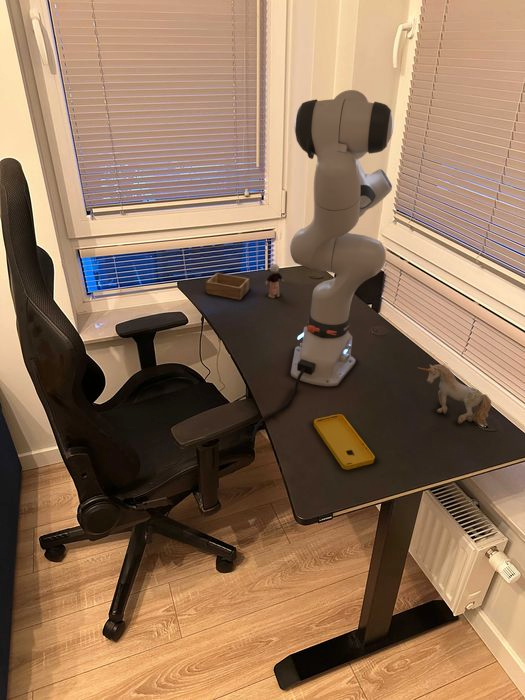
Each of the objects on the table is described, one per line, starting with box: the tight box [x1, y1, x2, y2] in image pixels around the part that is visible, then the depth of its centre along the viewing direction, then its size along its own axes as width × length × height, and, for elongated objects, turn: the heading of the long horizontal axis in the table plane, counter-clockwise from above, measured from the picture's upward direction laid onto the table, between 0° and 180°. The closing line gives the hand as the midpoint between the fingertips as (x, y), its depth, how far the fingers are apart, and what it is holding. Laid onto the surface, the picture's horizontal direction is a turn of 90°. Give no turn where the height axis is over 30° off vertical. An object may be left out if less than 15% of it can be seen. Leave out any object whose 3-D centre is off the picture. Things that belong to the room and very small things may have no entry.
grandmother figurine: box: [264, 263, 284, 299], centre depth 184 cm, size 8×4×13 cm, turn 133°
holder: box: [205, 272, 251, 300], centre depth 189 cm, size 10×14×5 cm
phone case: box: [313, 413, 376, 471], centre depth 120 cm, size 8×17×1 cm, turn 20°
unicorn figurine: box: [417, 363, 492, 427], centre depth 128 cm, size 7×20×13 cm, turn 63°
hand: (315, 234), depth 171 cm, fingers open, 8 cm apart
